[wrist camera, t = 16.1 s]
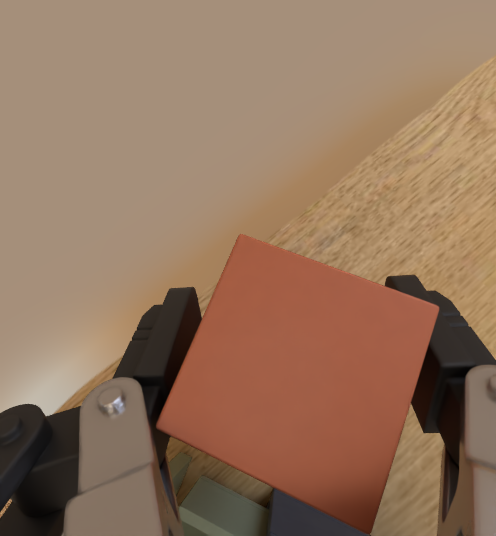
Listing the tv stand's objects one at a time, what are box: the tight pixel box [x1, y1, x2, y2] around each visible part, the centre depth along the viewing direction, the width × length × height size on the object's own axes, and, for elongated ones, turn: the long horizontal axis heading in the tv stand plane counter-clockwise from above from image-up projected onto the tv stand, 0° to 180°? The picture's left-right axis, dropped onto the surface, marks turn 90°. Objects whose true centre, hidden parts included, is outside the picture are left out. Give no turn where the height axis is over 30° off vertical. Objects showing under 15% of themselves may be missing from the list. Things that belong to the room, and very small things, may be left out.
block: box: [156, 234, 439, 534], centre depth 11 cm, size 4×4×8 cm
